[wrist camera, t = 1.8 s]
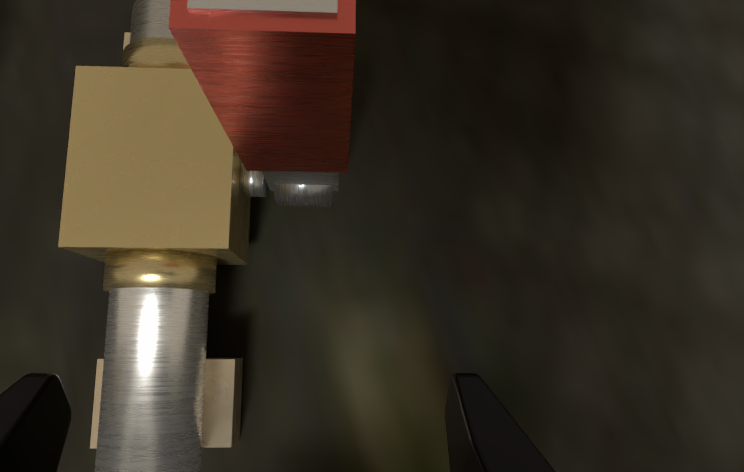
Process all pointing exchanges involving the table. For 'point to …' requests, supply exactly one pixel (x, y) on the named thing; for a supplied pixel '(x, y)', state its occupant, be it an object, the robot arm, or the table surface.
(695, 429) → the table surface
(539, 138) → the table surface
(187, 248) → the valve assembly
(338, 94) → the lever
